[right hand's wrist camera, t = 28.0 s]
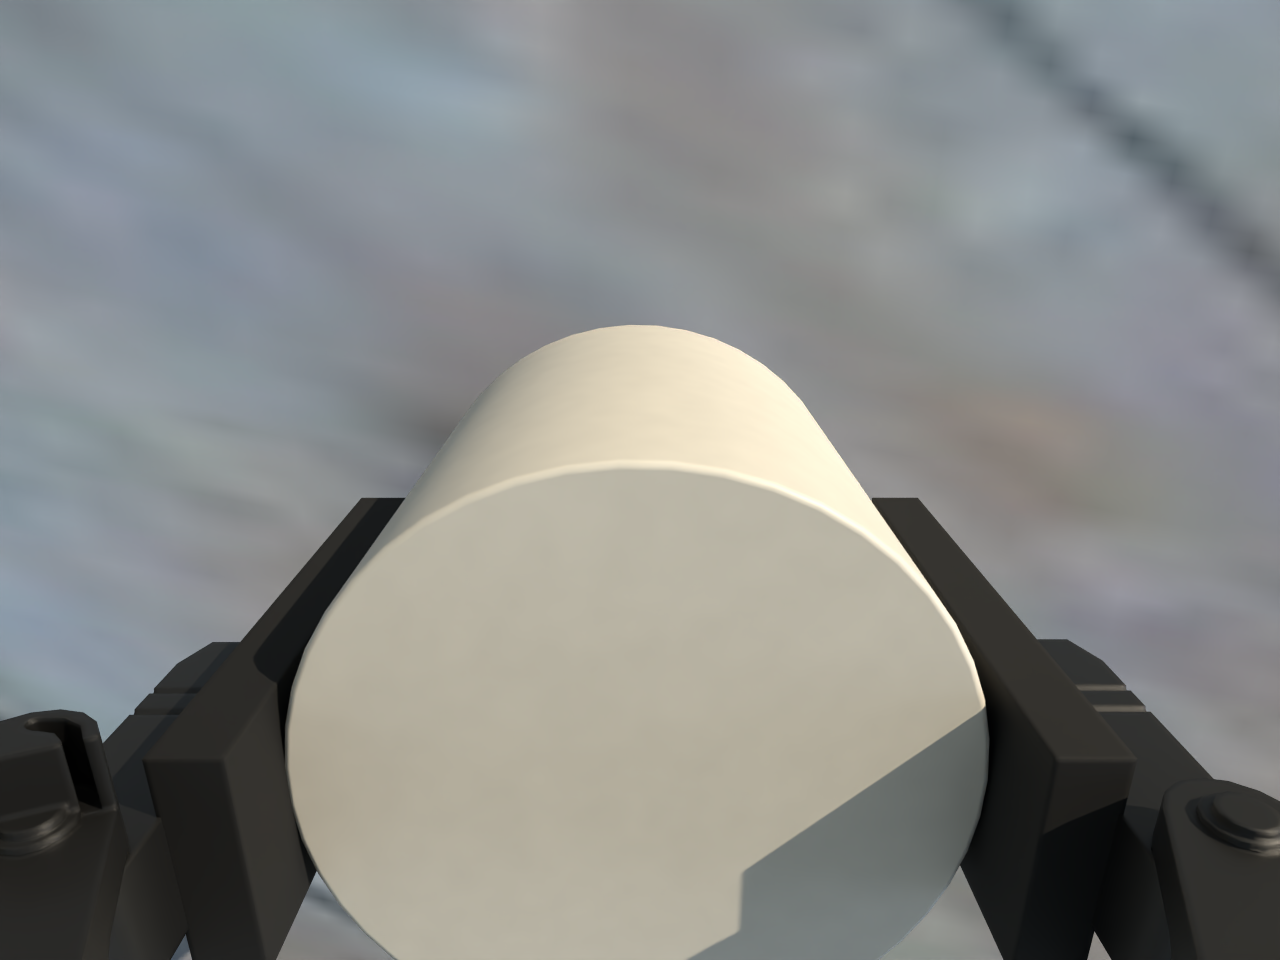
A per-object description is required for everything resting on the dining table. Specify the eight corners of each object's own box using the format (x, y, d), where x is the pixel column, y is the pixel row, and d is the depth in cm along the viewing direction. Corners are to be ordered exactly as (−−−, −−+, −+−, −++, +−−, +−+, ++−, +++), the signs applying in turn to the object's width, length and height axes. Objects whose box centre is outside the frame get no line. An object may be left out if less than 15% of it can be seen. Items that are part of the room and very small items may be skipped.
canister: (648, 759, 18) (655, 1126, 11) (355, 536, 16) (143, 811, 9) (923, 514, 16) (1138, 776, 9) (623, 229, 14) (608, 287, 7)
